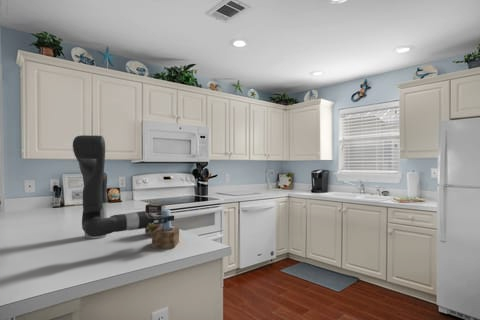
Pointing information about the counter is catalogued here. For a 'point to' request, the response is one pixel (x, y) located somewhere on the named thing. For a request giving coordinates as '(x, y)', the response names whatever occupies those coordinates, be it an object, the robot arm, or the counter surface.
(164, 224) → the peg
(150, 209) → the coffee box
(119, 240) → the counter surface
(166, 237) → the socket block
